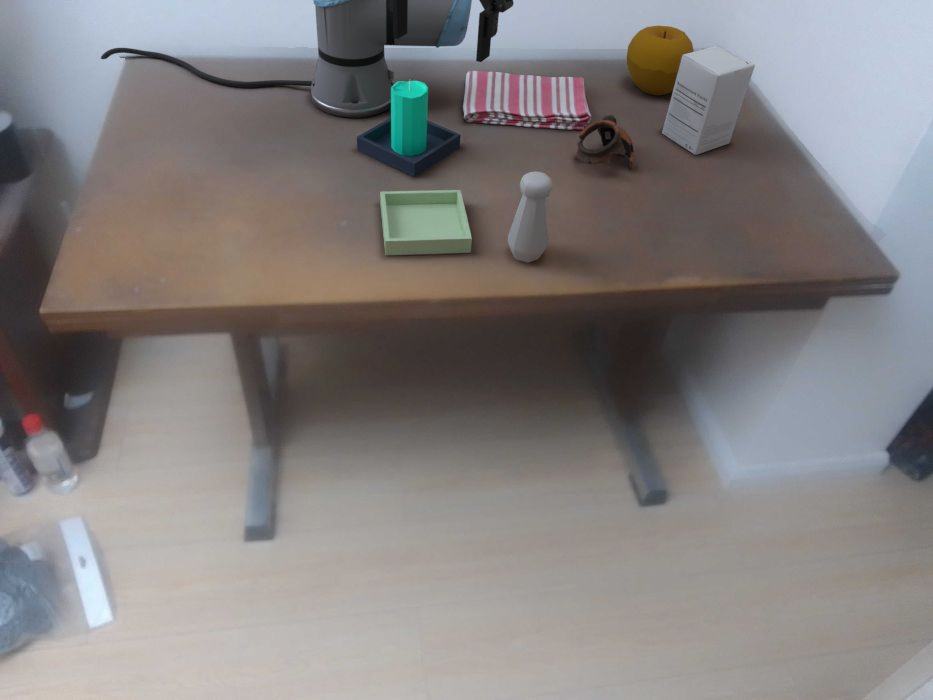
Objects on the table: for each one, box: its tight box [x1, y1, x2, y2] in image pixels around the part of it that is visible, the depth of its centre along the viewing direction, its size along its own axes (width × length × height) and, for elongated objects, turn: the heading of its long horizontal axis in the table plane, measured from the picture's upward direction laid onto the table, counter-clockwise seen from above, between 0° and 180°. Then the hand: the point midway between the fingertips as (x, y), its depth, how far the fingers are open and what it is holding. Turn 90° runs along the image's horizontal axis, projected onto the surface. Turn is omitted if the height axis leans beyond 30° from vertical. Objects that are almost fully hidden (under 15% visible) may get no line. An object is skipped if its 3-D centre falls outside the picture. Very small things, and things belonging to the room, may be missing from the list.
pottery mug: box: [576, 114, 635, 170], centre depth 130 cm, size 12×10×8 cm
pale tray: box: [379, 189, 473, 256], centre depth 114 cm, size 12×12×3 cm
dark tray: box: [356, 117, 462, 178], centre depth 129 cm, size 12×12×3 cm
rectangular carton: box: [661, 44, 756, 156], centre depth 134 cm, size 9×9×15 cm
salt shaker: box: [507, 171, 553, 264], centre depth 107 cm, size 6×6×13 cm
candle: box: [390, 78, 429, 156], centre depth 125 cm, size 6×6×12 cm
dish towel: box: [462, 69, 592, 131], centre depth 143 cm, size 17×23×4 cm
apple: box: [626, 25, 695, 96], centre depth 149 cm, size 13×13×11 cm
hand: (440, 47), depth 110 cm, fingers open, 13 cm apart
